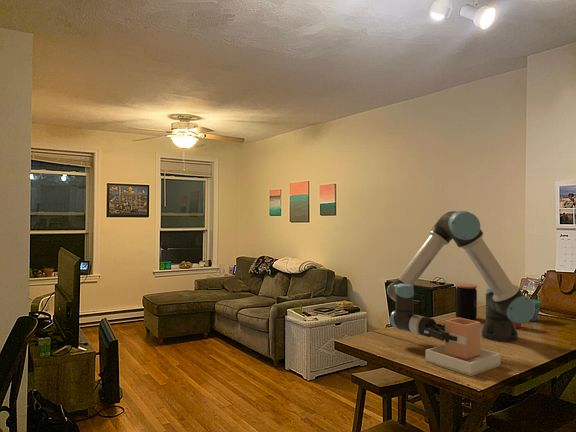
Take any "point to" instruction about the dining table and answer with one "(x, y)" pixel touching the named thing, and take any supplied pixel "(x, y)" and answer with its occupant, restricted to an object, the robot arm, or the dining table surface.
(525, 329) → the dining table surface
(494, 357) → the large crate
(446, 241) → the robot arm
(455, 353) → the box
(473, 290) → the coffee jar
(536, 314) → the snack cup
